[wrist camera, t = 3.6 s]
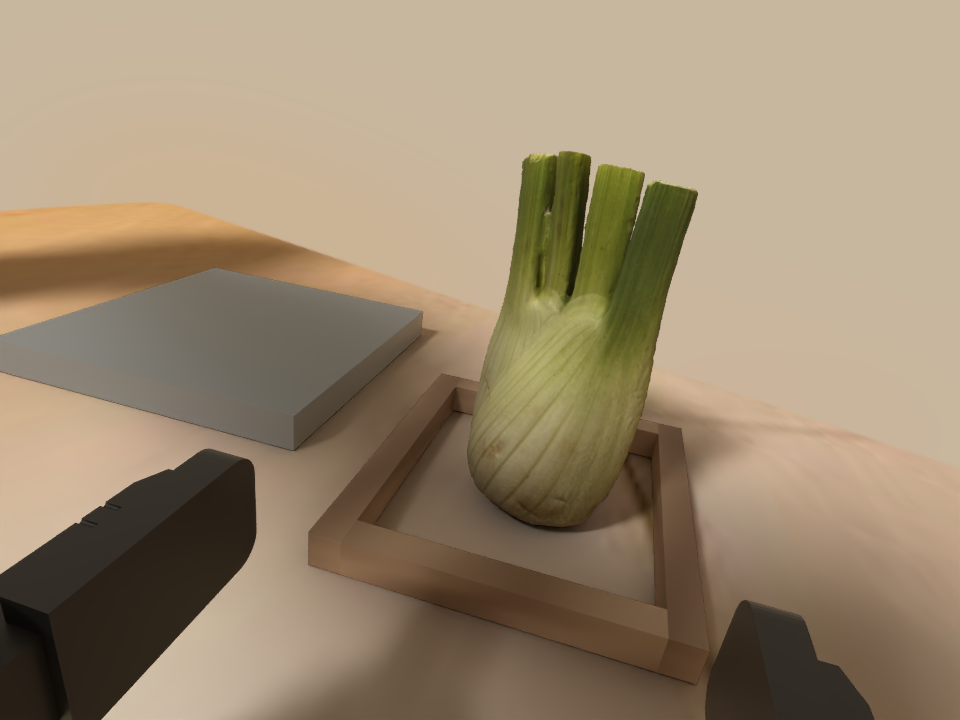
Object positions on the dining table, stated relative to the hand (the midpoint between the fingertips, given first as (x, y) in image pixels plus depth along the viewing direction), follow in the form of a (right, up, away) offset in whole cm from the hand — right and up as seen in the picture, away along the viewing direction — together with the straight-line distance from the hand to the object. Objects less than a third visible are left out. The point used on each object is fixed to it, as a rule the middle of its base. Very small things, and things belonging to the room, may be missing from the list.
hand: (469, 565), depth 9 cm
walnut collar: (+2, -2, +12) cm, 12 cm away
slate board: (-12, +4, +20) cm, 24 cm away
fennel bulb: (+2, -2, +12) cm, 12 cm away
